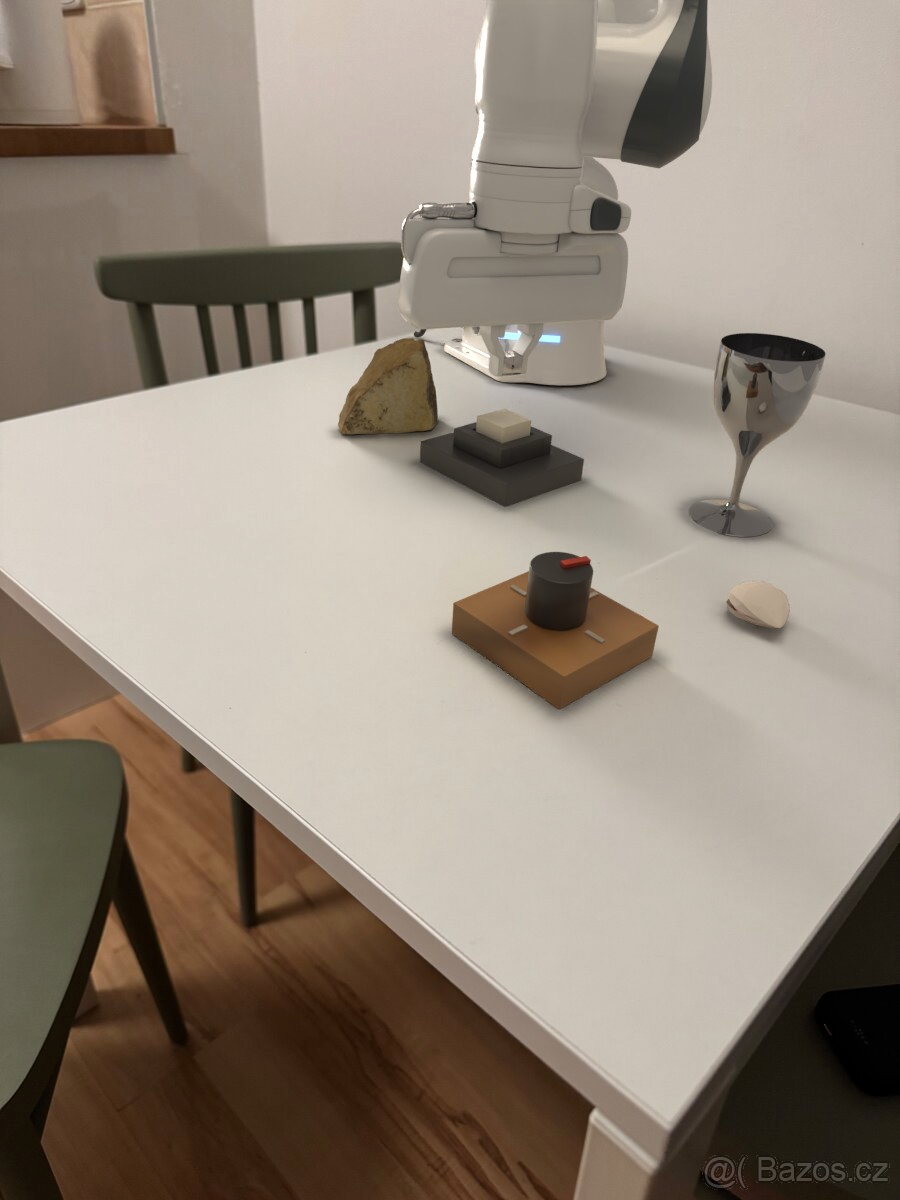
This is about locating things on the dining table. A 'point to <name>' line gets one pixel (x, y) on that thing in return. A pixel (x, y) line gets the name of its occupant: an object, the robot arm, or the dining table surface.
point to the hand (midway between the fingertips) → (507, 374)
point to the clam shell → (759, 604)
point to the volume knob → (558, 590)
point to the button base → (502, 463)
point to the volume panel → (553, 641)
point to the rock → (393, 393)
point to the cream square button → (503, 425)
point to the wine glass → (756, 413)
